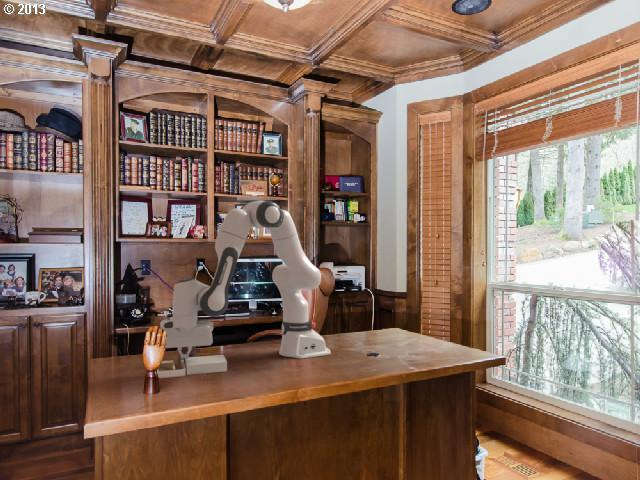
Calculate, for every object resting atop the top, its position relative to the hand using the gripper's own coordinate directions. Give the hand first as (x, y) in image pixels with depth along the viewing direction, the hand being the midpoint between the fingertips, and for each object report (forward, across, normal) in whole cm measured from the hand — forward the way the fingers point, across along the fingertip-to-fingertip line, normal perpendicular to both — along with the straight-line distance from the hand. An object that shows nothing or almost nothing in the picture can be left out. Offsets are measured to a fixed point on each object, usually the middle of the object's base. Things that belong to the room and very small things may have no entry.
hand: (184, 358), depth 166 cm
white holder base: (+5, -8, 0) cm, 9 cm away
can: (+5, -2, -13) cm, 14 cm away
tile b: (+2, +7, 0) cm, 7 cm away
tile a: (+1, +1, 0) cm, 2 cm away
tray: (+5, +5, 0) cm, 7 cm away
